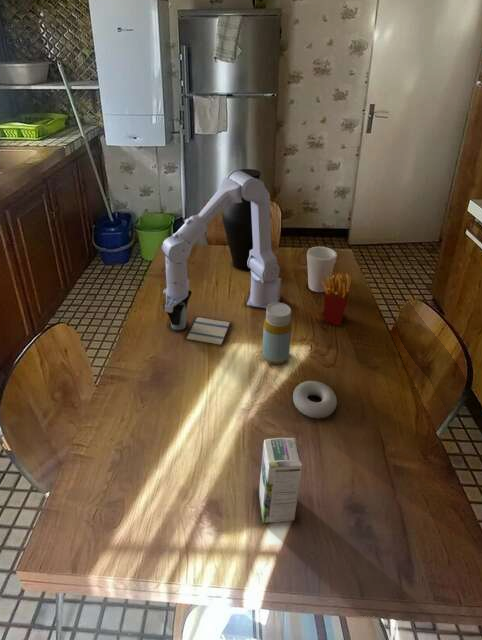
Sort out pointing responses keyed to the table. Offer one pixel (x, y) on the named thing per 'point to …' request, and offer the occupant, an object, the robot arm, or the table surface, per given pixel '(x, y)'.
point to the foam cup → (319, 267)
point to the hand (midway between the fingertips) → (178, 319)
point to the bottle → (276, 333)
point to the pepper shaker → (183, 318)
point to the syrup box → (279, 479)
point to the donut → (314, 408)
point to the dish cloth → (208, 330)
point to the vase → (240, 227)
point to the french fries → (335, 298)
